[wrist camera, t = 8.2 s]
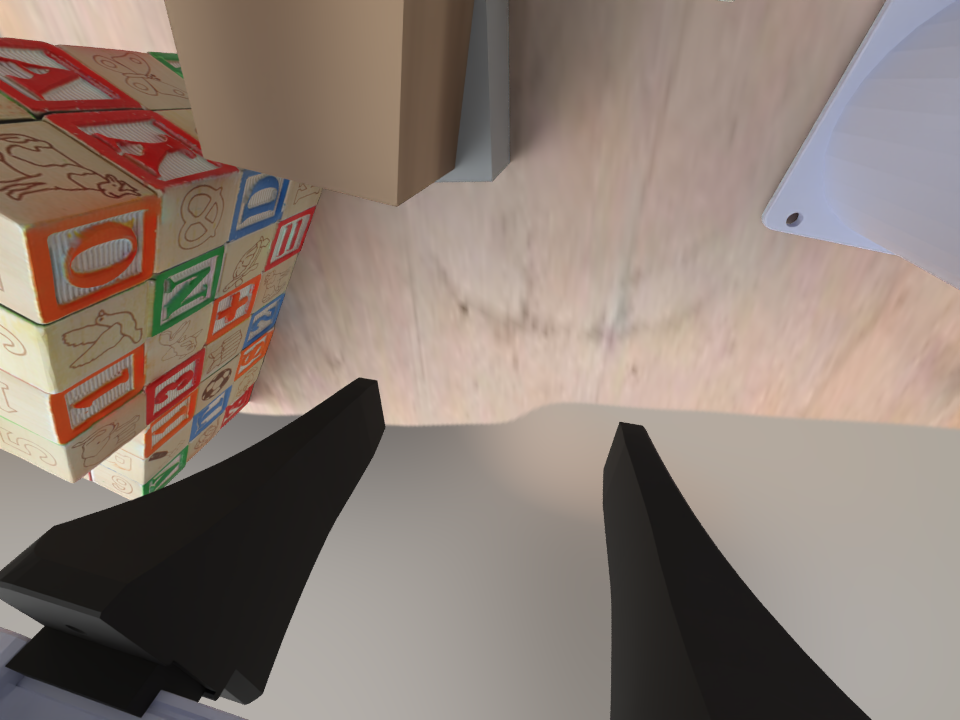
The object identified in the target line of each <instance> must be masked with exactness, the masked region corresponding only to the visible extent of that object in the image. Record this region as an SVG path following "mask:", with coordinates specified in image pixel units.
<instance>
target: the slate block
mask: <svg viewBox="0 0 960 720" xmlns="http://www.w3.org/2000/svg"><path fill="white" fill-rule="evenodd" d="M509 163H510V123H509V10H508V0H474V8H473V16H472V25H471V34H470V42H469V51H468V59H467V68H466V76H465V85H464V93H463V102H462V110H461V119H460V127H459V136H458V144H457V153H456V161H455V169H454V170H452V171H451V172H449V173H447V174H446V175H444V176H443V177H441V178H440V179H438V180H437V181H435V182H486V181H493V180H494V179H495V178H496V177H497V176H498V175H499V174H500V173H501V172H502V171H503V170H504V169H505V168H506V167H507V165H508V164H509Z"/></svg>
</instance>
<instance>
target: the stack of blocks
mask: <svg viewBox="0 0 960 720" xmlns="http://www.w3.org/2000/svg"><path fill="white" fill-rule="evenodd" d="M322 189H323V188H320V187H316V186H312V185H308V184H304V183H300V182H296V181H292V180H288V179H284V178H280V177H276V176H272V175H268V174H264V173H260V172H256V171H252V170H248V169H244V168H240V167H236V166H232V165H228V164H224V163H220V162H216V161H212V160H208V159H204V158H203V154H202V150H201V146H200V142H199V138H198V134H197V130H196V126H195V122H194V118H193V114H192V110H191V106H190V102H189V98H188V94H187V90H186V86H185V82H184V78H183V74H182V70H181V66H180V62H179V58H178V54H174V53H161V52H147V53H141V52H134V51H125V50H115V49H104V48H94V47H83V46H70V45H55V46H54V45H51V44H48V43H45V42H42V41H33V40H24V39H15V38H0V448H1V449H3V450H5V451H7V452H10V453H12V454H14V455H16V456H18V457H20V458H22V459H24V460H26V461H28V462H30V463H32V464H34V465H36V466H38V467H40V468H42V469H44V470H46V471H48V472H50V473H52V474H54V475H56V476H58V477H60V478H62V479H64V480H66V481H68V482H70V483H75V482H77V481H78V480H80V479H81V478H82V477H83V478H85V479H87V480H89V481H93V482H95V483H97V484H99V485H101V486H103V487H105V488H107V489H109V490H111V491H113V492H115V493H117V494H120V495H121V496H123V497H125V498H127V499H129V500H133V499H136V498H138V497H141V496H143V495H146V494H149V493H151V492H154V491H156V490H159V489H161V488H164V487H165V486H166V485H167V484H168V483H169V482H170V481H171V480H172V479H173V478H174V477H175V476H176V475H177V474H178V473H179V472H180V471H181V470H182V469H183V468H184V467H185V465H186V462H188V461H189V460H190V459H191V458H192V457H193V456H194V455H195V454H196V453H197V452H198V451H199V450H200V449H201V448H202V447H204V446H205V445H206V444H207V443H208V442H209V441H210V440H211V439H212V438H213V437H214V436H215V435H216V434H217V433H218V432H219V430H220V429H221V428H222V427H223V426H224V425H226V423H227V422H229V420H231V419H232V418H233V417H234V416H235V415H236V414H237V413H238V412H239V411H240V410H241V409H242V408H243V407H244V406H245V405H246V404H247V403H248V402H249V398H250V395H251V392H252V388H253V385H254V383H255V381H256V380H257V377H258V375H259V372H260V369H261V366H262V363H263V360H264V355H265V354H266V351H267V349H268V346H269V343H270V340H271V337H272V334H273V331H274V329H275V327H274V324H275V322H276V319H277V316H278V313H279V310H280V307H281V304H282V301H283V298H284V296H285V290H286V288H287V285H288V282H289V279H290V276H291V273H292V270H293V267H294V265H295V262H296V258H297V255H298V252H300V251H301V248H302V245H303V243H304V240H305V237H306V234H307V231H308V228H309V225H310V222H311V219H312V216H313V213H314V210H315V208H316V204H317V202H318V201H319V198H320V195H321V192H322Z"/></svg>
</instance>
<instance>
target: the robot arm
mask: <svg viewBox="0 0 960 720" xmlns="http://www.w3.org/2000/svg"><path fill="white" fill-rule="evenodd" d="M793 213H798V214H799V216H798V218H797V219H796V221H795V222H793V223H791V224H786V220H787V218H788V217H789V216H790V215H791V214H793ZM762 223H763V224H764V225H765V226H766V227H767V228H769V229H771V230H775V231H780V232H785V233H789V234H794V235H799V236H804V237H809V238H814V239H819V240H824V241H828V242H833V243H838V244H843V245H848V246H853V247H858V248H863V249H867V250H872V251H877V252H882V253H887V254H892V255H897V256H899V257H901V258H903V259H905V260H907V261H908V262H910V263H912V264H914V265H916V266H917V267H919V268H921V269H923V270H925V271H926V272H928V273H930V274H932V275H934V276H935V277H937V278H939V279H941V280H943V281H944V282H946V283H948V284H950V285H952V286H953V287H955V288H957V289H959V290H960V0H886V2H885V3H884V5H883V7H882V8H881V10H880V12H879V14H878V15H877V17H876V19H875V21H874V22H873V24H872V26H871V27H870V29H869V31H868V33H867V34H866V36H865V38H864V39H863V41H862V43H861V45H860V46H859V48H858V50H857V52H856V53H855V55H854V57H853V58H852V60H851V62H850V64H849V65H848V67H847V69H846V71H845V72H844V74H843V76H842V77H841V79H840V81H839V83H838V84H837V86H836V88H835V89H834V91H833V93H832V95H831V96H830V98H829V100H828V102H827V103H826V105H825V107H824V108H823V110H822V112H821V114H820V115H819V117H818V119H817V120H816V122H815V124H814V126H813V127H812V129H811V131H810V133H809V134H808V136H807V138H806V139H805V141H804V143H803V145H802V146H801V148H800V150H799V151H798V153H797V155H796V157H795V158H794V160H793V162H792V164H791V165H790V167H789V169H788V170H787V172H786V174H785V176H784V177H783V179H782V181H781V182H780V184H779V186H778V188H777V189H776V191H775V193H774V195H773V196H772V198H771V200H770V201H769V203H768V205H767V207H766V208H765V210H764V212H763V214H762ZM384 430H385V422H384V416H383V411H382V405H381V399H380V394H379V388H378V382H377V381H376V380H370V379H365V378H358V379H356V380H354V381H353V382H351V383H350V384H348V385H347V386H345V387H344V388H342V389H341V390H339V391H338V392H337V393H335V394H334V395H332V396H331V397H329V398H328V399H326V400H325V401H323V402H322V403H320V404H319V405H317V406H316V407H314V408H313V409H311V410H310V411H308V412H307V413H305V414H304V415H303V416H301V417H299V418H298V419H296V420H295V421H293V422H291V423H290V424H288V425H287V426H285V427H283V428H282V429H280V430H278V431H277V432H275V433H274V434H272V435H270V436H269V437H267V438H265V439H264V440H262V441H260V442H258V443H257V444H255V445H253V446H251V447H250V448H247V449H246V450H244V451H242V452H240V453H238V454H236V455H234V456H232V457H230V458H228V459H226V460H224V461H222V462H220V463H218V464H216V465H214V466H212V467H209V468H207V469H205V470H203V471H201V472H198V473H196V474H194V475H192V476H190V477H187V478H185V479H183V480H181V481H178V482H176V483H174V484H172V485H169V486H166V487H164V488H161V489H159V490H156V491H154V492H151V493H149V494H146V495H143V496H141V497H138V498H136V499H133V500H130V501H128V502H125V503H122V504H119V505H116V506H114V507H111V508H108V509H105V510H102V511H99V512H96V513H93V514H90V515H87V516H84V517H81V518H78V519H75V520H72V521H69V522H65V523H62V524H59V525H56V526H53V527H52V528H51V529H50V530H48V531H47V532H46V533H45V534H44V535H42V536H41V537H40V538H39V539H38V540H37V541H35V542H34V543H33V544H32V545H31V546H29V548H27V549H26V550H25V551H23V552H22V553H21V554H20V555H19V556H17V557H16V558H15V559H14V560H13V561H11V562H10V563H9V564H8V565H7V566H6V567H4V568H3V569H2V570H1V571H0V599H1V600H3V601H4V602H6V603H8V604H9V605H11V606H13V607H14V608H16V609H18V610H19V611H21V612H23V613H24V614H26V615H28V616H29V617H31V618H33V619H34V620H36V621H38V622H39V623H41V624H42V625H44V628H42V629H41V630H40V631H39V633H37V634H36V635H35V636H34V637H33V638H32V639H30V638H28V637H26V636H23V635H21V634H18V633H16V632H13V631H10V630H7V629H4V628H2V627H0V720H247V719H244V718H242V717H239V716H236V715H233V714H230V713H227V712H224V711H221V710H218V709H216V708H213V707H210V706H207V705H204V704H201V703H198V702H199V700H200V698H201V697H205V698H208V699H211V700H214V701H216V700H217V699H218V698H219V697H223V698H226V699H229V700H232V701H235V702H238V703H241V704H244V705H246V704H249V703H251V702H252V701H254V700H255V699H257V698H258V697H259V696H261V695H262V694H263V692H264V689H265V686H266V683H267V681H268V678H269V675H270V672H271V670H272V667H273V664H274V661H275V659H276V656H277V654H278V651H279V648H280V646H281V643H282V640H283V638H284V635H285V633H286V630H287V628H288V625H289V623H290V620H291V618H292V615H293V613H294V610H295V608H296V605H297V603H298V601H299V598H300V596H301V594H302V591H303V589H304V587H305V585H306V582H307V580H308V578H309V575H310V573H311V571H312V569H313V566H314V564H315V562H316V560H317V558H318V555H319V553H320V551H321V549H322V547H323V545H324V542H325V540H326V538H327V536H328V534H329V532H330V530H331V528H332V527H333V525H334V523H335V521H336V519H337V517H338V516H339V514H340V512H341V511H342V509H343V507H344V506H345V504H346V502H347V500H348V499H349V497H350V495H351V494H352V492H353V490H354V489H355V487H356V485H357V484H358V482H359V480H360V479H361V477H362V475H363V473H364V472H365V470H366V468H367V466H368V465H369V463H370V461H371V459H372V458H373V456H374V454H375V451H376V449H377V447H378V444H379V442H380V440H381V437H382V435H383V432H384ZM603 511H604V523H605V533H606V544H607V554H608V564H609V575H610V586H611V603H612V604H611V606H612V652H611V653H612V654H611V655H612V657H611V713H610V720H871V719H870V718H869V717H868V716H867V715H866V714H865V713H864V712H863V711H862V710H861V709H860V708H859V707H858V706H857V705H856V704H855V703H854V702H853V701H852V700H851V699H850V698H849V697H848V696H847V695H846V694H845V693H844V692H843V691H842V690H841V689H840V688H839V687H838V686H837V685H836V684H835V683H834V682H833V681H832V680H831V679H830V678H829V677H828V676H827V675H826V674H825V673H824V672H823V671H822V669H820V667H819V666H818V665H817V664H816V663H815V662H814V661H813V660H812V659H811V658H810V657H809V656H808V655H807V654H806V653H805V652H804V651H803V650H802V648H800V646H799V645H798V644H797V643H796V642H795V641H794V639H793V638H792V637H791V636H790V635H789V634H788V633H787V632H786V630H785V629H784V628H783V627H782V626H781V625H780V624H779V623H778V621H777V620H776V619H775V618H774V617H773V616H772V615H771V614H770V612H769V611H768V610H767V609H766V608H765V607H764V606H763V605H762V603H761V602H760V601H759V600H758V599H757V597H756V596H755V595H754V594H753V593H752V591H751V590H750V589H749V588H748V586H747V585H746V584H745V583H744V581H743V580H742V579H741V578H740V577H739V575H738V574H737V573H736V571H735V570H734V569H733V568H732V566H731V565H730V564H729V562H728V561H727V560H726V558H725V557H724V556H723V555H722V553H721V552H720V550H719V549H718V548H717V546H716V545H715V544H714V542H713V541H712V539H711V538H710V537H709V535H708V534H707V532H706V531H705V529H704V528H703V526H702V525H701V523H700V522H699V520H698V519H697V518H696V516H695V515H694V513H693V511H692V510H691V508H690V507H689V505H688V504H687V502H686V500H685V499H684V497H683V496H682V494H681V492H680V491H679V489H678V488H677V486H676V484H675V482H674V481H673V479H672V477H671V476H670V474H669V472H668V470H667V469H666V467H665V465H664V463H663V462H662V460H661V458H660V456H659V454H658V453H657V451H656V449H655V447H654V445H653V443H652V441H651V439H650V437H649V435H648V433H647V431H646V429H645V428H644V427H643V426H641V425H635V424H630V423H623V422H619V425H618V428H617V431H616V434H615V437H614V440H613V443H612V446H611V449H610V452H609V455H608V458H607V461H606V464H605V467H604V474H603Z"/></svg>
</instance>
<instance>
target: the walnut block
mask: <svg viewBox="0 0 960 720" xmlns="http://www.w3.org/2000/svg"><path fill="white" fill-rule="evenodd" d="M164 2H165V6H166V10H167V14H168V18H169V22H170V26H171V30H172V34H173V38H174V42H175V46H176V50H177V54H178V58H179V62H180V66H181V70H182V74H183V78H184V82H185V86H186V90H187V94H188V98H189V102H190V106H191V110H192V114H193V118H194V122H195V126H196V130H197V134H198V138H199V142H200V146H201V150H202V154H203V158H204V159H208V160H212V161H216V162H220V163H224V164H228V165H232V166H236V167H240V168H244V169H248V170H252V171H256V172H260V173H264V174H268V175H272V176H276V177H280V178H284V179H288V180H292V181H296V182H300V183H304V184H308V185H312V186H316V187H320V188H324V189H328V190H332V191H336V192H340V193H344V194H348V195H352V196H356V197H360V198H364V199H368V200H372V201H376V202H380V203H384V204H388V205H392V206H396V207H397V206H399V205H400V204H402V203H403V202H405V201H406V200H408V199H409V198H411V197H412V196H414V195H415V194H417V193H418V192H420V191H422V190H423V189H425V188H426V187H428V186H429V185H431V184H432V183H434V182H435V181H437V180H438V179H440V178H441V177H443V176H444V175H446V174H447V173H449V172H451V171H452V170H454V169H455V161H456V153H457V144H458V136H459V127H460V119H461V110H462V102H463V93H464V85H465V76H466V68H467V59H468V51H469V42H470V34H471V25H472V16H473V8H474V0H164Z"/></svg>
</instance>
